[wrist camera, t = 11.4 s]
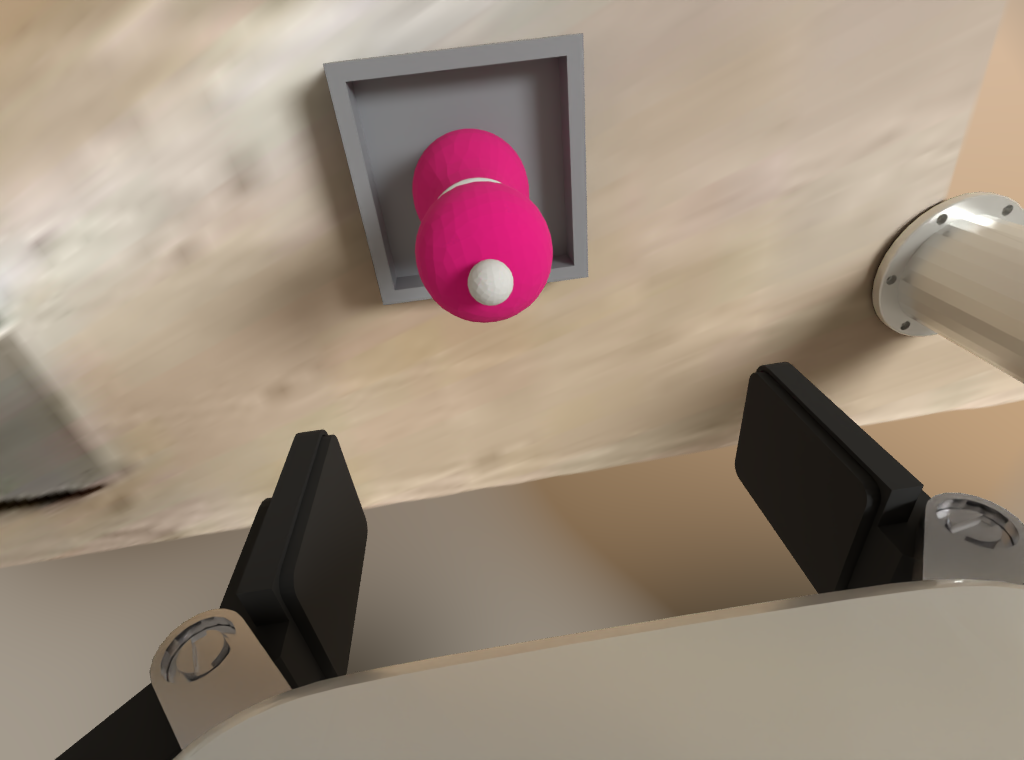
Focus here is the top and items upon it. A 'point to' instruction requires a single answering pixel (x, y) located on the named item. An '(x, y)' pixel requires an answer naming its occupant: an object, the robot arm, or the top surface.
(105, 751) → the robot arm
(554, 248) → the tray
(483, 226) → the pepper mill
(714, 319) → the top surface
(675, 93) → the top surface
